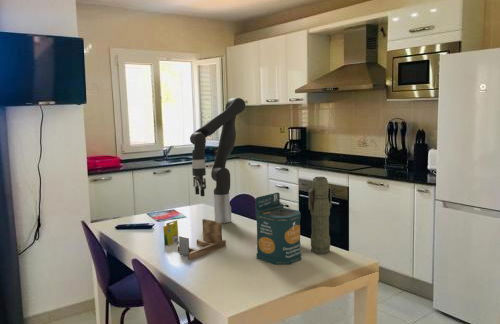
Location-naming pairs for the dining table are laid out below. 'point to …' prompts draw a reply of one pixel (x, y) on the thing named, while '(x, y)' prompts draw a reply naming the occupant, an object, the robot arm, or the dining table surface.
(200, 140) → the robot arm
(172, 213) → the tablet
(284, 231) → the donation box
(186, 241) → the bookend
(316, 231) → the thermos
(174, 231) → the crayon box
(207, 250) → the rack
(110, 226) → the dining table surface
